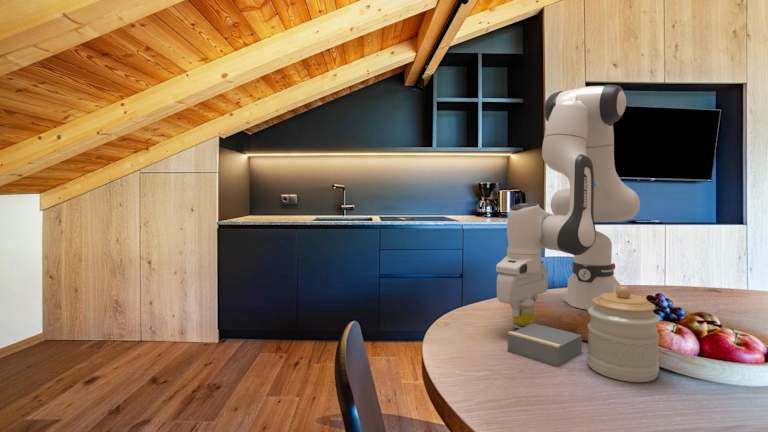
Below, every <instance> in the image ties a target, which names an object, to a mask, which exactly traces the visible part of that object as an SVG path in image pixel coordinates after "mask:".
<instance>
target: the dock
mask: <svg viewBox="0 0 768 432" xmlns="http://www.w3.org/2000/svg"><path fill="white" fill-rule="evenodd" d="M582 344H583V340H582V335H580V334H577V333H574V332H571V331H567V330H562V329H559V328H554V327H552V326H547V325H542V324H540V323H535V322H534V323H533V324H531V325H528V326H526V327H524V328H521V329H519V328H518V329H516V330H515V331H512V330H510V331H507V351H508V352H510V353H513V354H517V355H520V356H523V357H526V358H530V359H533V360H536V361H539V362H543V363H546V364H549V365H551V366H555V367H559V366H561V365H563V364H564V363H565V362H568V361H570V360H571V359H572V358H574V357H576V356H577V355H579V354H581V353H582V352H583V348H582V346H583V345H582Z"/></svg>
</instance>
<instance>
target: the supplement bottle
mask: <svg viewBox="0 0 768 432" xmlns="http://www.w3.org/2000/svg"><path fill="white" fill-rule="evenodd" d="M531 296H532V295H531V292H530V293H528V298H526V299H523V300H520V304H518V305H519V309H521V316H519V317H515V316H513V315H512V316H513V319H512V321H513V322H512V323H513V326H514V328H515V329H518V330H519V329H521V328H524V327H526V326H528V325H531V324H533V323H535V310H534V301H533V300H532V299H531Z"/></svg>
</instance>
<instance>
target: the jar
mask: <svg viewBox="0 0 768 432" xmlns="http://www.w3.org/2000/svg"><path fill="white" fill-rule="evenodd" d="M592 301H593V303H594V306H593V307H591V308H589V309H588V310H587V314H589V316H590V317H589V318H590V320H589V321H590V323H589V324H588V341H587V342H588V343H587V352H586V354H587V356H586V360H587V363H588V367H590V369H592V370H593V371H594V372H595V373H598V374H600V375H602V376H605V377H606V378H611V379H613V380H614V379H615V380H618V381H623V382H629V383H646V382H647V383H648V382H652V381H654V380H656V379H657V378H658V373H659V371H660V363H659V347H660V346H659V339H660V337H661V335H660V332H658V327H657V326H658V324H659V323H660V322H661V317H660V316H659V315H657V314H656V313H655V312H654V311H655V309H656V305H655V304H654V303H651V302H650V300H648V299H647V298H646V297H643V296H640V295H636V294H631V291H630V288H629V287H628V286H624V285H621V286H620V287H618V288H617V289H616V293H603V294H601V295H600V296H598V297H595V298H594V299H593V300H592Z"/></svg>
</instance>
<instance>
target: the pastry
mask: <svg viewBox="0 0 768 432" xmlns="http://www.w3.org/2000/svg"><path fill="white" fill-rule="evenodd" d="M589 323H590V320H588V321H587V322H585V323H581V325H580V326H578V327H577V329H576V334H580V335H582V341H586V342H588V324H589Z"/></svg>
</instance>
